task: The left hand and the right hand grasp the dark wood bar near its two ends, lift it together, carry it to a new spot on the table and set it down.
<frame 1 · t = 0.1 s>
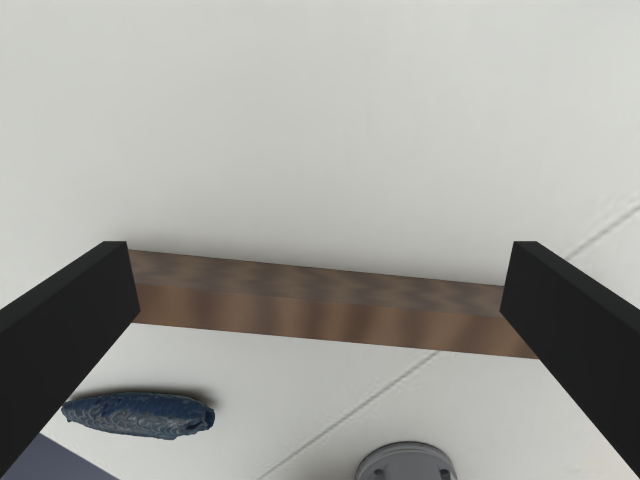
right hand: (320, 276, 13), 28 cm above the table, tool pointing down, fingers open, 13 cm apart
bar: (359, 289, 44), on the table
fish model: (143, 402, 51), on the table
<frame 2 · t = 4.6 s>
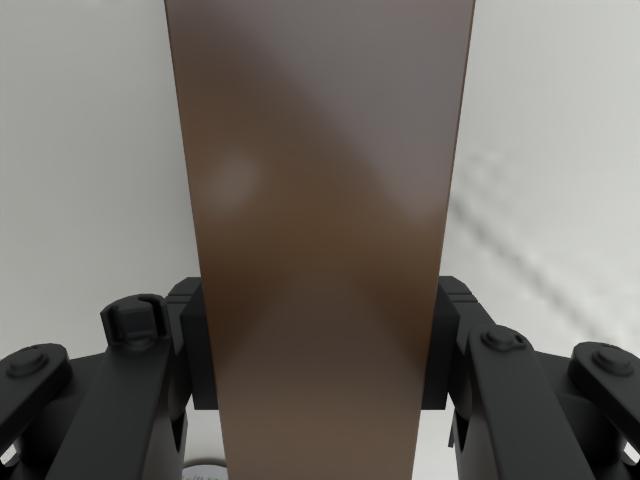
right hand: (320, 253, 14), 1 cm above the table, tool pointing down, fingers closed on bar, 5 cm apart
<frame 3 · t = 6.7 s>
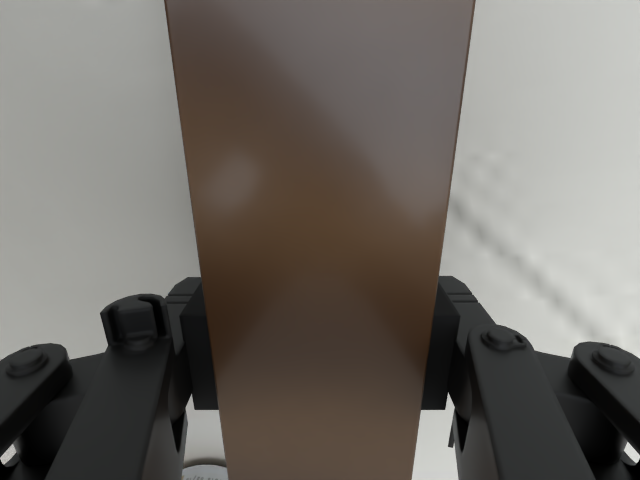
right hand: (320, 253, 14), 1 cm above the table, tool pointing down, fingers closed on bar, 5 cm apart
when the right hand's fingers open (2 cm above the table, at t = 14.2 s): bar drops 2 cm, on the table.
when the left hand's fingers open (5 cm above the table, at t = 14.4 s): bar stays where it is, on the table.
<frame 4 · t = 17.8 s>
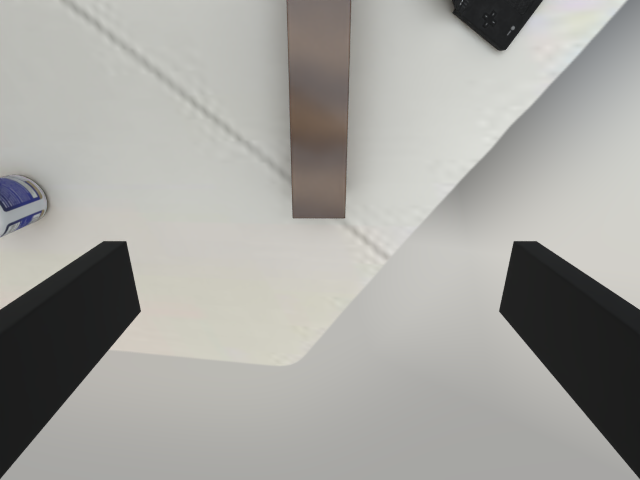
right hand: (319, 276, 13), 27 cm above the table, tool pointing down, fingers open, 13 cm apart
pill bottle: (25, 198, 39), on the table
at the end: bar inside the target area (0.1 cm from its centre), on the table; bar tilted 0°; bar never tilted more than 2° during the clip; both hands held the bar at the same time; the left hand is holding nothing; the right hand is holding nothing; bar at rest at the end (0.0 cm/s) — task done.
